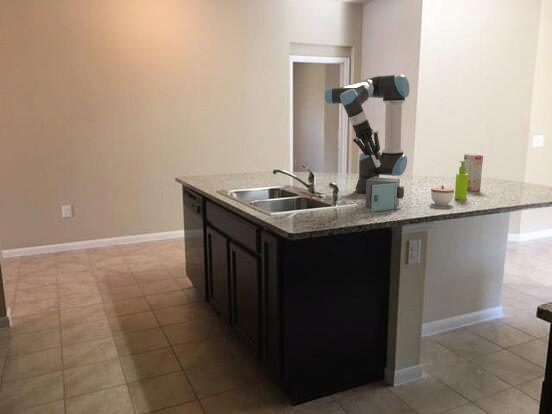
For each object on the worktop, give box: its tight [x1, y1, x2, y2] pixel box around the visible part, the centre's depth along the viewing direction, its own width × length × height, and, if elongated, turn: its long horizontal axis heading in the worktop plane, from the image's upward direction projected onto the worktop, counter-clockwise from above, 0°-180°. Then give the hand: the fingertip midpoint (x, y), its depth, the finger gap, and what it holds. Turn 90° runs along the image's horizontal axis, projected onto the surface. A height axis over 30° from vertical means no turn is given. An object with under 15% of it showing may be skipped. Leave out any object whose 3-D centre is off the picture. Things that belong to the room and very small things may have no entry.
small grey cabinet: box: [365, 176, 405, 208], centre depth 228 cm, size 12×17×14 cm
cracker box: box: [463, 153, 484, 192], centre depth 278 cm, size 14×6×21 cm, turn 179°
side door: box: [370, 183, 397, 212], centre depth 217 cm, size 2×14×12 cm, turn 118°
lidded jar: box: [430, 185, 455, 206], centre depth 233 cm, size 11×11×9 cm
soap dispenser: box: [454, 160, 471, 200], centre depth 248 cm, size 6×7×20 cm
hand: (378, 165), depth 226 cm, fingers closed
